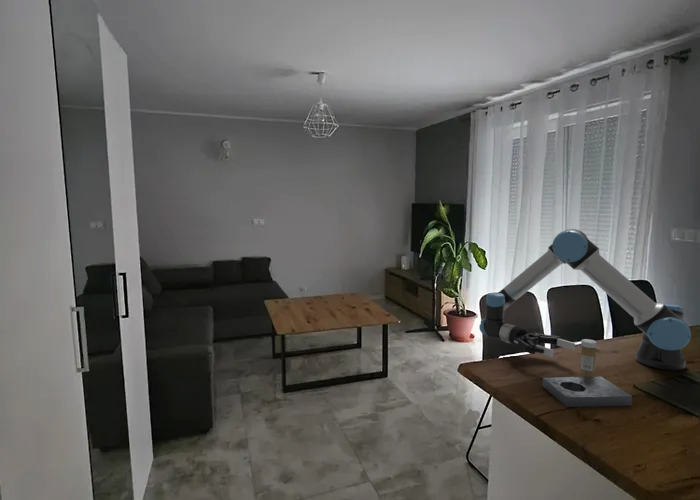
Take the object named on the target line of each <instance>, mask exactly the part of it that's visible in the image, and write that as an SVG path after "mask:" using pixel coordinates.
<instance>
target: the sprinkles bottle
mask: <svg viewBox="0 0 700 500" xmlns="http://www.w3.org/2000/svg"><path fill="white" fill-rule="evenodd" d="M597 343H598V342H597V341H596V340H594V339H588V338H584V339H581V342H580V346H581V353H580V371H579V372H580V374H579V377H595V374H596V373H595V370H596V349H597V346H598V345H597Z"/></svg>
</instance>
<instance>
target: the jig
mask: <svg viewBox="0 0 700 500" xmlns="http://www.w3.org/2000/svg"><path fill="white" fill-rule="evenodd" d="M542 387H543V388H544V389H545V390H546V391H548V392H549V393H550V394H551V395H552V396H553V397H554V398H555V399H557V400H558V401H559V402H560V403H561V404H562V405H563V406H565V407H566V408H571V407H572V408H574V407H576V408H578V407H579V408H580V407H581V408H582V407H583V408H585V407H586V408H587V407H632V406H633V395H631V394H629V393H628V392H626V391H625V390H623V389H622V388H620V387H618V386H617V385H615V384H614V383H612V382H611V381H609V380H607V379H606V378H605V377H603V376H594V377H580V376H564V377H562V376H561V377H558V376H557V377H555V376H553V377H542Z"/></svg>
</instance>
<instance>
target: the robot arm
mask: <svg viewBox="0 0 700 500" xmlns="http://www.w3.org/2000/svg"><path fill="white" fill-rule="evenodd" d="M600 254H601V253H600V248H599V247H598V246H597V245H595V244H594V243H593V241H591V240H590V239H589V238H588V237H587V235H586V234H585V233H584V232H583V231H581V230H579V229H576V228H570V229H566V230H563V231H560V233H558V234H556V236H555V237H554V238H553V242H552V244H551V245H549V246H548V247H547V251H546V252H544V254H542V255H540V257H538V259H536V260H535V261H534V262H532V264H531V265H529V266H528V267H527V268H526V269H524V270H523V271H522V272H521V273H520V274H518V275H517V276H516V277H515V278H514V279H513V280H511V282H509V283H508V284H507V285H505V287H503V288H502V289H501V290H500V291H498V292H487V294H486V297H485V299H486V300H485V317H484V318H482V319H481V320H480V324H479V331H480V333H481V334H483V335H485V336H487V337H489V338H493V339H496V340H499V341H501V342H502V341H503V342H505V343H506V344H511V345H514V346H518V347H519V348H521V350H524V351H525V352H527V353H530V354H532V355H535V354H536V353H537V354H540V355H543V356H546V357H550V358H554V357H555V355H554V354H555V349H552V348H548V347H545V346H543V345H540V344H548V345H556V346H558V347H561V348H564V349H568V350H570V351H575V350H576V343H575V342H572V341H569V340H566V339H562V338H561V336H560V335H550V334H544V333H538V332H533V333H528V332H527V330H526V328H523V327H521V326H517V325H514V324H511V323H507V322H505V311H506V310H507V309H508V308H509V307H510V306H511V305H513V304H514V303H515V302H516V301H517V300H518V299H519V298H521V297H522V296H524V295H525V294H526V293H528V291H530V290H531V289H533V287H534V286H536V285H537V284H538V283H540V282H541V281H542V280H543V279H544V278H546V277H547V276H548V275H550V274H551V273H553V271H554V270H556V269H557V268H558V267H560V266H561V265H564V264H567V265H568V266H569V267H570V268H571V269H572V270H575V271H581V272H582V273H583V274H585V276H586V277H588V278H589V280H590V281H592V282H593V283H594V284H596V285H597V286H598V287H599V288H600V289H601V290H602V291H603V292H605V294H607V295H608V296H609V297H610V298H611V299H612V300H613V301H614V302H616V304H617V305H619V306H620V307H621V308H622V309H623V310H624V311H625V312H627V313H628V314H629V315H630V316H631V317H633V323H634V325H635V326H636V327H637V328H638V330H640V331H642V335H641V336H642V337H641V338H642V339H641V342H640V345H639V346H638V348H637V351H636V352H635V357H634V358H635V360H636V361H637V362H638V363H641V364H642V365H645V366H647V367H652V368H656V369H659V370H660V369H661V370H666V371H667V370H668V371H681V370H685V369H686V362H687V361H686V359H685V356H684V353H683V348H685V347H686V346H687V345H688V344H689V343H690V340H691V338H692V331H691V328H690V326H689V325H688V324H687V322H686V321H685V320H684V314H685V312H684V307H682V306H681V305H676V304H669V303H662V302H655V301H654V300H653V299H652V298H650V297H649V296H648V295H647V294H646V293H645V292H644V291H642V290H641V289H640V288H639V287H638V286H637V285H635V284H634V283H633V282H632V281H631V280H630V279H628V278H627V277H626V276H625V275H624V274H622V273H621V272H620V271H619V270H618V269H617V268H616V267H615V266H613V264H611V263H610V262H609V261H607V259H605V258H604V257H603V256H602V255H600Z"/></svg>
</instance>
